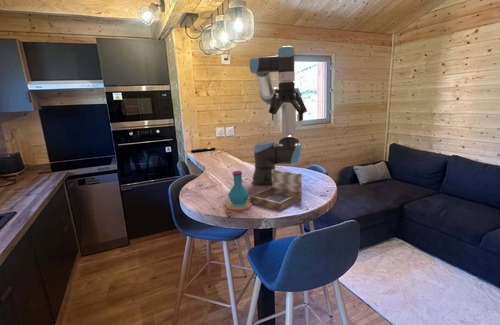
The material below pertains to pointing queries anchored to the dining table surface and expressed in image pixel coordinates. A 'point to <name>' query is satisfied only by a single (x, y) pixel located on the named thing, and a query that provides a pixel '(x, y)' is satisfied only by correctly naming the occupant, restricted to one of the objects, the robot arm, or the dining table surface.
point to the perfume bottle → (238, 191)
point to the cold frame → (281, 190)
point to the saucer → (231, 207)
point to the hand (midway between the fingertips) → (287, 127)
